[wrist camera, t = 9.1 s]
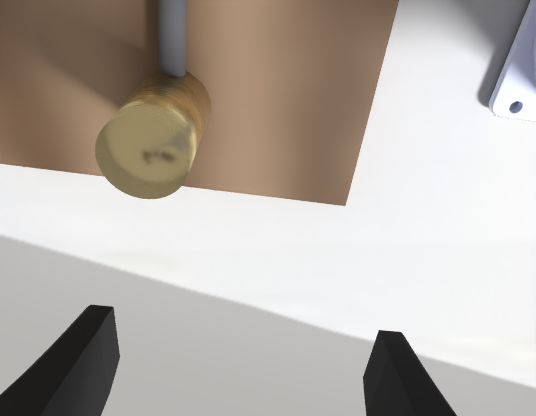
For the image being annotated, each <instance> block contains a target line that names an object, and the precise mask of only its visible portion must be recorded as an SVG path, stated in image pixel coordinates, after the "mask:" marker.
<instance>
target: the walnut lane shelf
mask: <svg viewBox="0 0 536 416" xmlns="http://www.w3.org/2000/svg"><path fill="white" fill-rule="evenodd" d="M398 2H399V0H187V17H186V72H189V73H190V74H192V75H194V76H195V77H196V78H197V79H199V81H200V82H201V83H202V84H203V85H204V86H205V88H206V90H207V92H208V94H209V97H210V101H211V114H210V118H209V120H208V123H207V126H206V128H205V131H204V134H203V136H202V139H201V141H200V144H199V147H198V149H197V152H196V154H195V157H194V160H193V162H192V165H191V168H190V170H189V173H188V175H187V178H186V180H185V182H184V183H183V185H182V186H187V187H195V188H203V189H211V190H219V191H228V192H236V193H244V194H252V195H260V196H268V197H277V198H285V199H293V200H301V201H309V202H317V203H326V204H334V205H342V206H346V202H347V198H348V194H349V190H350V186H351V183H352V179H353V175H354V171H355V167H356V163H357V159H358V156H359V152H360V148H361V144H362V140H363V136H364V133H365V129H366V125H367V121H368V117H369V113H370V110H371V106H372V102H373V98H374V94H375V90H376V87H377V83H378V79H379V75H380V71H381V67H382V63H383V60H384V56H385V52H386V48H387V44H388V40H389V37H390V33H391V29H392V25H393V21H394V17H395V14H396V10H397V6H398ZM157 70H159V35H158V0H0V164H7V165H15V166H23V167H31V168H40V169H48V170H56V171H64V172H72V173H80V174H89V175H97V176H104V175H103V173H102V172H101V170H100V168H99V166H98V163H97V160H96V156H95V143H96V139H97V136H98V134H99V132H100V131H101V129H102V128H103V127H104V126H105V125H106V123H107V122H108V121H109V120H110V119H111V118H112V117H113V115H114V114H115V113H116V112H117V111H118V110H119V109H120V107H121V106H122V105H123V104H124V103H125V102H126V101H127V100H128V98H129V97H130V96H131V95H132V94H133V93H134V92H135V90H136V89H137V88H138V87H139V86H140V85H141V84H142V82H143V81H144V80H145V79H146V78H147V77H148V76H149V75H150V74H152V73H153V72H155V71H157Z"/></svg>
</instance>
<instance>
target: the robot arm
mask: <svg viewBox="0 0 536 416" xmlns="http://www.w3.org/2000/svg"><path fill="white" fill-rule="evenodd" d="M515 101H519V102H518V106H517V107H516V108H515V109H513V110H509V108H510V105H511V104H512V103H514V102H515ZM488 106H489V110H490V111H491V112H492V113H493V114H494V115H495V116H498V117H505V118H512V119H520V120H527V121H535V122H536V0H530V3H529V5H528V8H527V10H526V13H525V15H524V18H523V20H522V22H521V25H520V27H519V30H518V32H517V35H516V37H515V40H514V42H513V44H512V47H511V49H510V52H509V54H508V57H507V59H506V62H505V64H504V66H503V69H502V71H501V74H500V76H499V79H498V81H497V84H496V86H495V89H494V91H493V93H492V96H491V98H490V101H489V105H488ZM115 324H116V323H115V316H114V308H113V307H110V306H99V305H90V306H88V307H87V308H86V309H85V310H84V311H83V312H82V314H80V316H79V317H78V318H77V319H76V320H75V321H74V322H73V323H72V324H71V325H70V327H69V328H68V329H67V330H66V331H65V332H64V333H63V334H62V335H61V336H60V337H59V338H58V339H57V340H56V341H55V342H54V344H53V345H52V346H51V347H50V348H49V349H48V350H47V351H46V352H45V353H44V354H43V355H42V356H41V357H40V358H39V359H38V360H37V361H36V362H35V363H34V364H33V365H32V366H31V367H30V368H29V369H28V370H27V371H26V372H25V373H23V374H22V376H20V377H19V378H18V379H17V380H16V381H15V382H14V383H13V384H12V385H10V386H9V387H8V388H7V389H6V390H5V391H4V392H3V393H2V394H1V395H0V416H101V414H102V411H103V409H104V406H105V404H106V401H107V398H108V396H109V393H110V390H111V387H112V383H113V380H114V376H115V373H116V369H117V366H118V362H119V358H120V354H119V346H118V339H117V331H116V325H115ZM363 383H364V395H365V405H366V415H367V416H457V415H456V414H455V412H454V411H453V410H452V408H451V407H450V405H449V404H448V402H447V401H446V400H445V398H444V397H443V395H442V394H441V392H440V391H439V389H438V388H437V387H436V385H435V383H434V382H433V381H432V379H431V378H430V376H429V374H428V373H427V372H426V370H425V368H424V367H423V365H422V364H421V362H420V360H419V359H418V357H417V356H416V354H415V353H414V351H413V349H412V348H411V346H410V345H409V343H408V341H407V340H406V338H405V337H404V335H403V334H402V333H401V332H394V331H383V330H379V332H378V335H377V338H376V341H375V343H374V346H373V349H372V353H371V355H370V358H369V361H368V364H367V367H366V370H365V373H364V376H363Z"/></svg>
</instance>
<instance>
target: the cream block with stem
mask: <svg viewBox="0 0 536 416" xmlns="http://www.w3.org/2000/svg"><path fill="white" fill-rule="evenodd" d="M186 17H187V0H158V35H159V70H157V71H155V72H153V73H152V74H150V75H149V76H148V77H147V78H146V79H145V80H144V81H143V82H142V84H141V85H140V86H139V87H138V88H137V89H136V90H135V92H134V93H133V94H132V95H131V96H130V97H129V98H128V100H127V101H126V102H125V103H124V104H123V105H122V106H121V107H120V109H119V110H118V111H117V112H116V113H115V114H114V115H113V117H112V118H111V119H110V120H109V121H108V122H107V123H106V125H105V126H104V127H103V128H102V129H101V131H100V132H99V134H98V136H97V139H96V143H95V156H96V160H97V163H98V166H99V168H100V170H101V172H102V173H103V175H104V176H105V177H106V179H107V180H108V181H109V182H110V183H111V184H112V185H114V186H115V187H116V188H117V189H119V190H121V191H122V192H124V193H126V194H128V195H131V196H134V197H137V198H143V199H157V198H162V197H166V196H168V195H170V194H172V193H174V192H175V191H177V190H178V189H179V188H180V187H181V186H182V185H183V183H184V182H185V180H186V178H187V175H188V173H189V170H190V168H191V165H192V162H193V160H194V157H195V154H196V152H197V149H198V147H199V144H200V141H201V139H202V136H203V134H204V131H205V128H206V126H207V123H208V120H209V118H210V114H211V101H210V97H209V94H208V92H207V90H206V88H205V86H204V85H203V84H202V83H201V82H200V81H199V79H197V78H196V77H195V76H194V75H192V74H190V73H189V72H186Z"/></svg>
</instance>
